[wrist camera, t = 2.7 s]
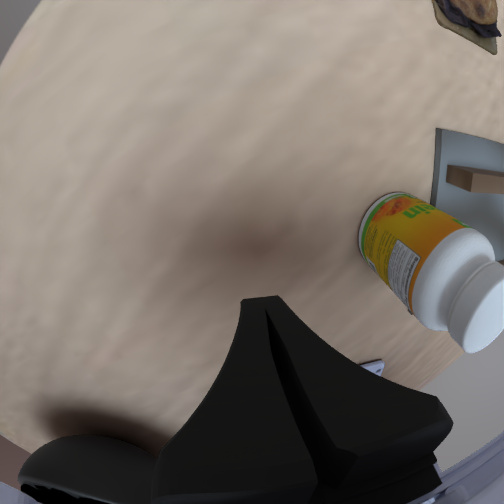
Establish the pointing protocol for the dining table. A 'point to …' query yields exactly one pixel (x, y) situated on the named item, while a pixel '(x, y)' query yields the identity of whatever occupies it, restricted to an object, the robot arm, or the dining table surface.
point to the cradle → (471, 184)
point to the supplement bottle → (436, 268)
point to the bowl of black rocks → (88, 472)
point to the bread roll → (470, 20)
